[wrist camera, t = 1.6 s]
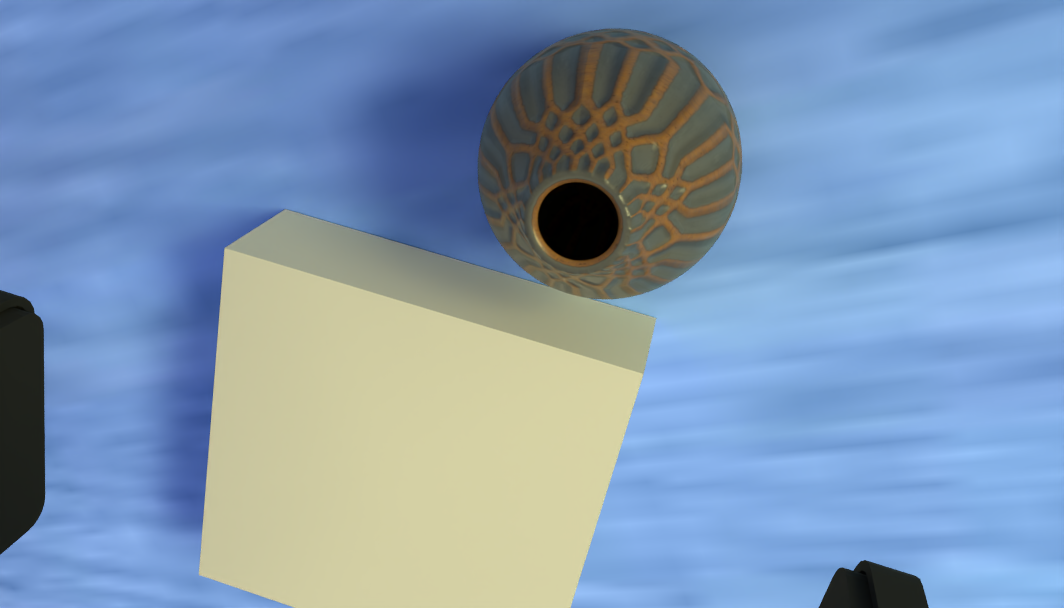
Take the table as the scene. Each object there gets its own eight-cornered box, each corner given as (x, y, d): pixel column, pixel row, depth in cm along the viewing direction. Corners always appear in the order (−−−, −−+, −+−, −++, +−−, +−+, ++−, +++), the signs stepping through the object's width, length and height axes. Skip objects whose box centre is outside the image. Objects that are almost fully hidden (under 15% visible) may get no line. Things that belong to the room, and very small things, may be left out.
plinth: (285, 209, 31) (224, 247, 28) (656, 318, 30) (643, 373, 26) (252, 509, 37) (198, 574, 33) (564, 613, 35) (543, 692, 32)
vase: (531, 251, 30) (453, 372, 22) (498, 32, 27) (396, 81, 19) (749, 235, 28) (750, 361, 20) (735, 0, 26) (728, 40, 18)
